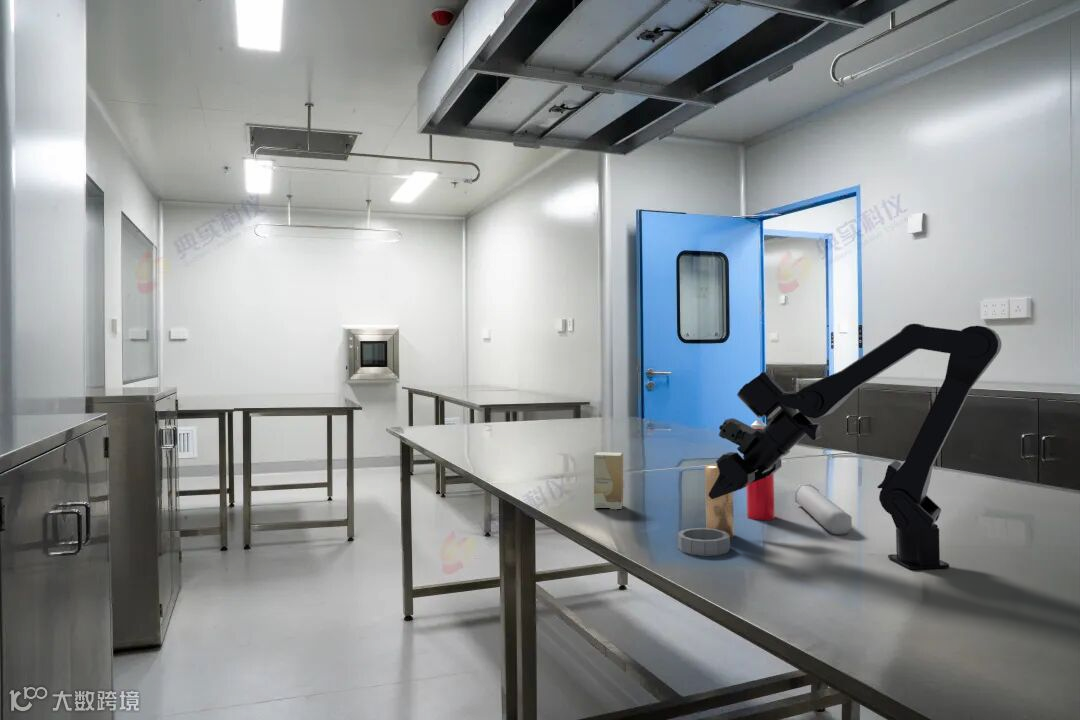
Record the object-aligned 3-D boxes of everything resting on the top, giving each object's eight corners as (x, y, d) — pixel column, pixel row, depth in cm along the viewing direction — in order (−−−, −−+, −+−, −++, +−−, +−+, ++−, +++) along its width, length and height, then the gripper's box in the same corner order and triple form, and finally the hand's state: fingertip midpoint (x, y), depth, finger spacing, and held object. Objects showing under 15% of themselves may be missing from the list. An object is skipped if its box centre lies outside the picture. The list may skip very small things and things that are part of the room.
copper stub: (737, 538, 129) (736, 467, 129) (711, 539, 129) (709, 469, 129) (728, 531, 134) (726, 463, 134) (702, 532, 134) (701, 464, 134)
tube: (860, 516, 128) (822, 487, 153) (831, 506, 129) (798, 480, 153) (851, 543, 128) (814, 510, 153) (822, 534, 129) (790, 503, 154)
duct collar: (736, 554, 119) (736, 539, 119) (687, 556, 119) (686, 542, 119) (719, 540, 128) (719, 527, 128) (673, 543, 127) (672, 529, 127)
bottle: (777, 515, 146) (775, 419, 145) (771, 521, 141) (769, 422, 141) (750, 512, 148) (748, 418, 148) (744, 518, 144) (741, 421, 143)
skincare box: (593, 509, 156) (592, 454, 156) (596, 505, 160) (595, 451, 160) (622, 510, 154) (620, 454, 154) (624, 505, 159) (623, 451, 158)
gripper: (764, 400, 135) (711, 453, 142) (726, 408, 120) (669, 467, 127) (806, 444, 131) (749, 496, 138) (773, 457, 116) (711, 515, 123)
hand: (720, 492), depth 131 cm, fingers open, 9 cm apart
